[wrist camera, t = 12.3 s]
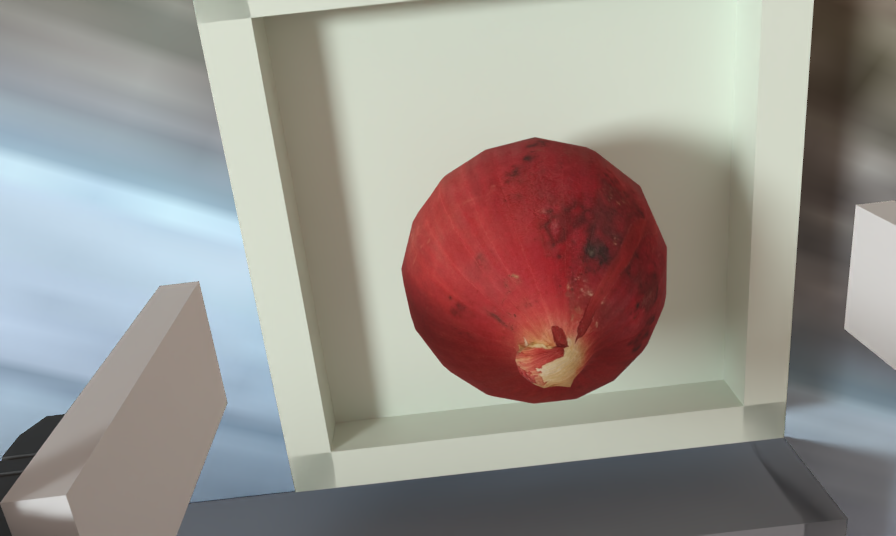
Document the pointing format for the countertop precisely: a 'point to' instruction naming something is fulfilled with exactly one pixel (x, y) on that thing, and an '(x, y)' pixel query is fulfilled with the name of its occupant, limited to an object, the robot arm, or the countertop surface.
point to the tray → (463, 137)
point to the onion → (536, 271)
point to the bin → (558, 500)
